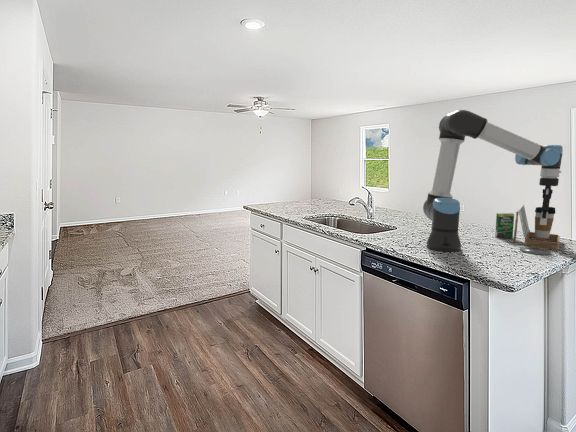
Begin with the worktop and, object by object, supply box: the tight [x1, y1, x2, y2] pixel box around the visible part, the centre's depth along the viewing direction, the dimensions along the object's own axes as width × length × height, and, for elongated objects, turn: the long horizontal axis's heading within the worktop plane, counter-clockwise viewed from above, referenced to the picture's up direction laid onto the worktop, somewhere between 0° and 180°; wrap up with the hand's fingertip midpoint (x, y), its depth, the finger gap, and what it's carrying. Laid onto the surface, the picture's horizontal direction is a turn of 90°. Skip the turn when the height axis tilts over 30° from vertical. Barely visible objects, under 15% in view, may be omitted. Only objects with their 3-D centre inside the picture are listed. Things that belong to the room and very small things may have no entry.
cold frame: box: [512, 204, 561, 251], centre depth 184 cm, size 22×19×18 cm
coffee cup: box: [534, 206, 556, 238], centre depth 182 cm, size 8×8×15 cm
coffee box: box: [494, 212, 515, 239], centre depth 197 cm, size 8×3×13 cm, turn 77°
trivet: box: [519, 246, 552, 256], centre depth 169 cm, size 12×12×1 cm
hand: (543, 223), depth 182 cm, fingers closed on coffee cup, 8 cm apart
